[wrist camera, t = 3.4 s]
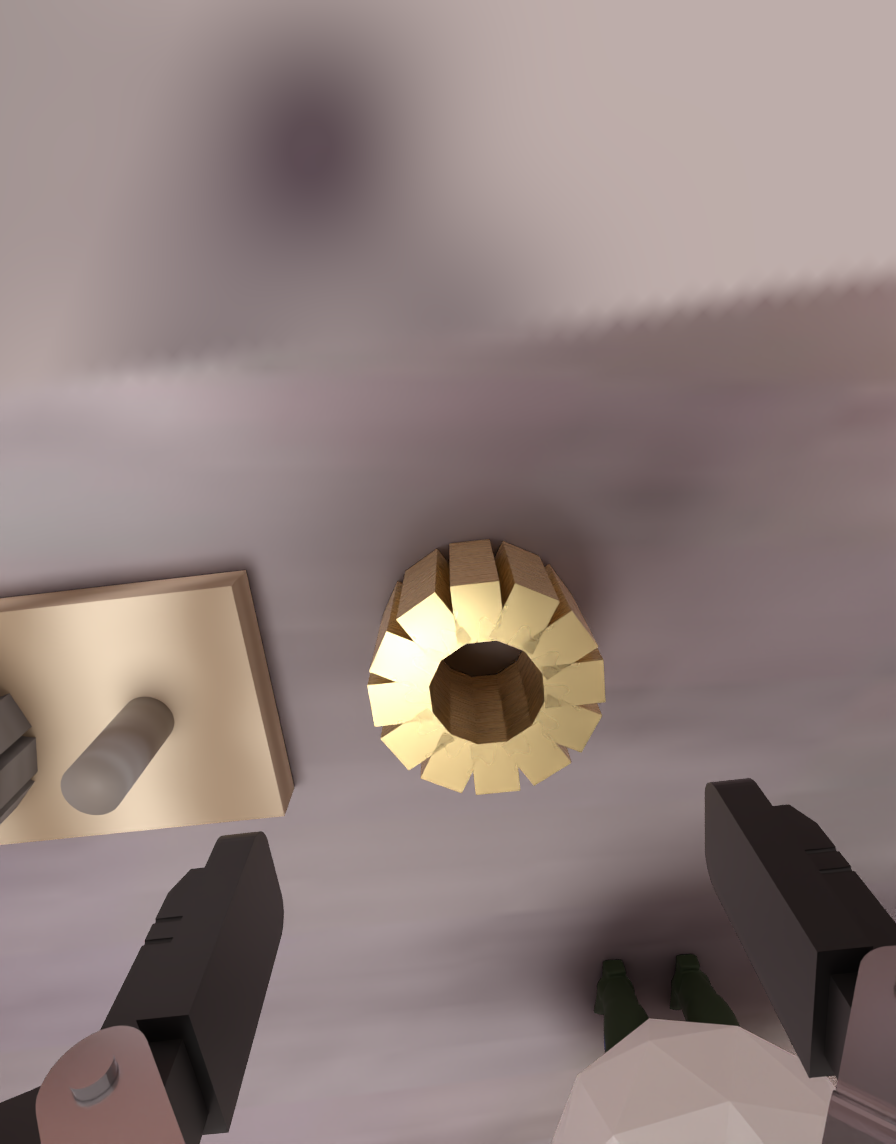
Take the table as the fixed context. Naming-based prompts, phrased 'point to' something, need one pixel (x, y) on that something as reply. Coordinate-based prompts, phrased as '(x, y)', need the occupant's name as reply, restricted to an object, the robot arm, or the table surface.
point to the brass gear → (494, 702)
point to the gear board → (154, 659)
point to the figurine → (688, 1075)
